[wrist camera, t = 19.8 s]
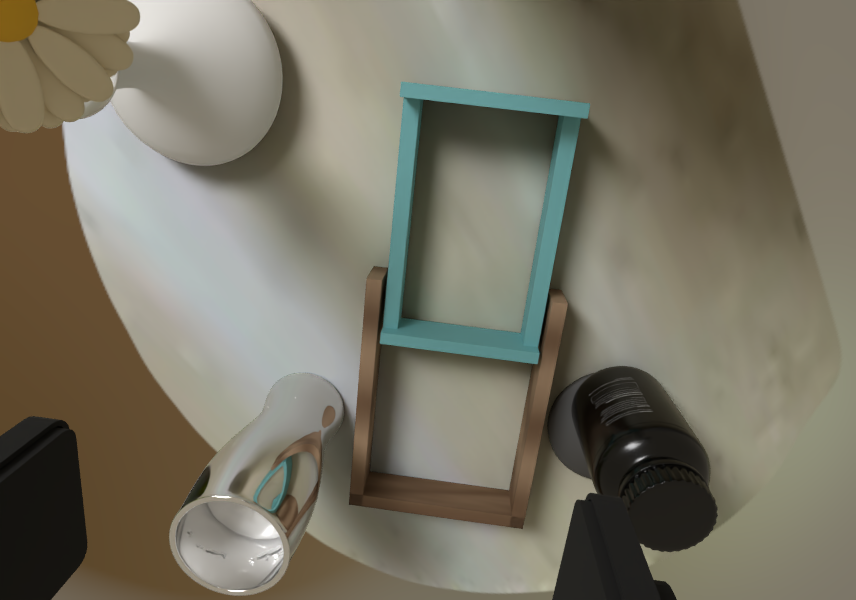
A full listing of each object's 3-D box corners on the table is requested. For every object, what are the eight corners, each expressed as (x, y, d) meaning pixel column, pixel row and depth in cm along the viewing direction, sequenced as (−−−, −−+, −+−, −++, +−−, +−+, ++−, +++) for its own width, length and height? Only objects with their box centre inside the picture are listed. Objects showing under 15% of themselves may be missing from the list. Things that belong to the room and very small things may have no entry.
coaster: (559, 362, 42) (560, 366, 41) (684, 379, 42) (686, 383, 41) (538, 467, 45) (539, 471, 44) (654, 483, 45) (656, 488, 44)
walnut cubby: (374, 266, 41) (366, 278, 38) (561, 290, 40) (568, 304, 37) (356, 480, 47) (348, 504, 44) (519, 502, 46) (522, 528, 43)
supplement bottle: (560, 437, 43) (591, 555, 32) (582, 355, 41) (624, 451, 30) (651, 453, 43) (714, 577, 32) (678, 371, 41) (756, 474, 30)
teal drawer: (408, 83, 36) (401, 81, 32) (577, 103, 36) (590, 103, 32) (386, 326, 42) (377, 349, 38) (532, 345, 41) (539, 370, 37)
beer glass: (368, 416, 45) (320, 562, 30) (302, 461, 46) (228, 618, 32) (309, 349, 43) (229, 470, 29) (243, 398, 45) (138, 534, 31)
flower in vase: (197, 196, 40) (-200, 329, 16) (82, 48, 37) (-585, -45, 14) (346, 82, 37) (122, 46, 13) (232, -87, 34) (-297, -506, 11)
